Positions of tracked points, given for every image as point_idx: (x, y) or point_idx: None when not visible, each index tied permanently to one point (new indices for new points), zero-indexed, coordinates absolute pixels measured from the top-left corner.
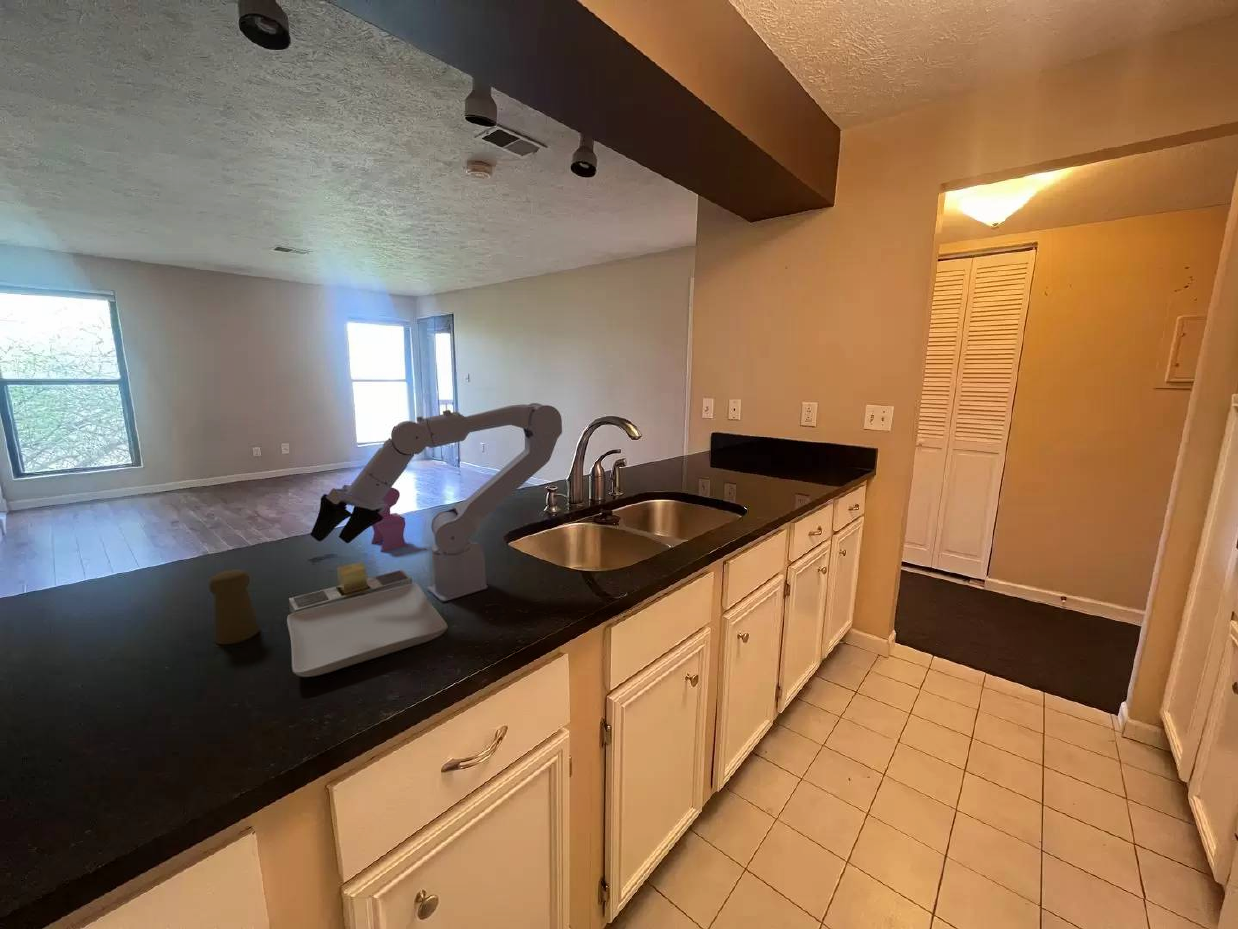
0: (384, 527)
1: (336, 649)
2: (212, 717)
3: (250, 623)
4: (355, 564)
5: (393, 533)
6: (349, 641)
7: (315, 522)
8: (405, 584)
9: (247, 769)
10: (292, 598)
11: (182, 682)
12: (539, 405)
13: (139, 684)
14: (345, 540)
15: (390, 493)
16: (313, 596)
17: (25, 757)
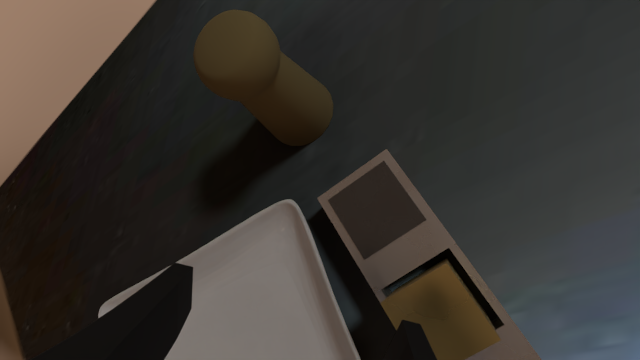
0: None
1: (195, 334)
2: (105, 218)
3: (279, 134)
4: (478, 327)
5: None
6: (218, 351)
7: (122, 302)
8: None
9: (29, 304)
10: (385, 158)
11: (179, 128)
12: None
13: (188, 74)
14: (389, 355)
15: None
16: (387, 210)
17: (100, 75)
